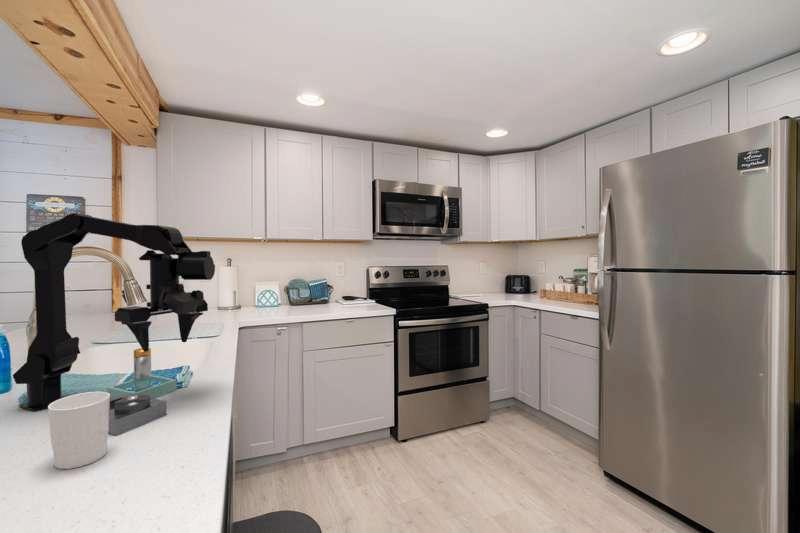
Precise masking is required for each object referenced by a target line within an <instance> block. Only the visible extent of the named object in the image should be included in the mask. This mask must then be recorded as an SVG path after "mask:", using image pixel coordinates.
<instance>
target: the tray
mask: <svg viewBox="0 0 800 533" xmlns="http://www.w3.org/2000/svg"><path fill="white" fill-rule="evenodd" d="M151 380H153V381H157V382H162V383H163V384H160V385H157V386H154V387H151V388H148V389H145V390H142V391H139V392H134V391H127V390H124V389H126V388H128V387H130V386H132V385H134V379H132V380H128V381H125V382H121V383H118V384H115V385H112V386H108V387H106V389H107V390H106V392H107V393H109V394H110V399H113V398H116V397H119V396H122V395H125V394H129V393H133V394H137V395H148V396H150V397H151V398H155V399H156V398H157V397H160V396H163V395H165V394H168V393H171V392H174V391H176V390H178V386H177V385H178V383H177V382H178V380H177V379H175V378H170V377H163V376H160V375H159V376H158V375H154V374H151Z"/></svg>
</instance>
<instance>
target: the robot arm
mask: <svg viewBox="0 0 800 533" xmlns="http://www.w3.org/2000/svg"><path fill="white" fill-rule="evenodd" d="M88 234H95V235H99V236H103V237H110V238H115V239H121V240H126V241H130V242H133V243H135V244H137V245H138V246H141V247H144V248H147V249H148V250H146V252H145V253H144V254H143V255H141V256H139V257H138V260H140V261H149V284H146V288H145V289H146V290H149V292H150V293H149V294H150V301H148V302H147V301H146V306H137V305H136V306H135V305H132V306H125V307H118V308H117V310H116V311H115V312H114V322H120V323H121V325H125V326H127V327H128V329H129V330H130V331H131V333H132V334H133V335H134V337H135V338H136V339H135V340H137V343H138V344H139V346H140V347H141V348H142V349H143V351H148V349H149V348H150V338H149V336H150V333H149V328H150V326H151V324H152V322H153V321H152V320H151V321H150V320H149V319H150V318H151V316H158V315H165V314H172V313H174V314H176V315H177V321H178V322H177V323H178V327H179V336H180V339H181V342H182V343H186V342H187V341H188V338H189V337H190V336H189V335H190V333H191V330H192V327H193V325H194V324H195V321H196V320H197V319H198V318H199V317H200V316H202V315H204V312H208V311H209V310H208V309H209V308H208V307H209V306H208V305H209V303H207V301H206V299H204V298H205V297H204V292H203V290H200V289H197V290H192V291H191V292H189V291H188V292H186V291H185V286H184V284H183V283H180V277H181V279H183V280H184V281H190V280H191V281H207V280H208V281H209V280H210V281H211V280H212V279H213V278H214V276H215V272H216V264H215V262H214V259H213V257H212V256H211V251H209V250H200V251H192V249H191V248H190V247H189V246H188V244H187V243H186V242H185V240H184V239H183V235H182V232H181V231H180V229H178V228H176V227H175V226H174V227H173V226H172V227H171V226H167V225H165V226H164V225H159V224H156V225H155V224H133V223H127V222H126V223H125V222H122V221H117V220H112V219H105V218H100V217H95V216H92V215H89V214H83V213H78V212H77V213H76V212H74V213H73V212H72V213H69V214H67V215H65V216H63V217H62V218H60V219H58V220H55V221H53V222H49V223H46V224H45V225H42V226H40V227H38V228H37V229H35V230H34V229H33V230H30V231H28V232H27V233H26V234H25V235H23V236H22V238H21V242H20V244H21V247H22V253H23V258H24V259H25V261H26V262H27V263H28V264H29V266H30V267H31V268H32V269H33V272H34V275H33V276H34V292H35V294H34V295H35V296H34V297H35V298H34V299H35V300H34V301H35V316H36V317H35V319H36V335H35V336H34V338H33V340H32V341H31V343H30V345H29V347H28V350H27V357H26V362H25V363H24V364H23V365H22V366H20V368H18V369H17V370H16V371H15V372H14V373H13V375H12V377H13V380H14V382H15V384H16V385H19V384H20V385H24V384H26V402H23V403H20V404H19V406H18V407H20V408H22V409H25V410H29V411H32V412H36V411H39V410H43V409H48V406H49V404H51V403H52V402H54V401H56V400H59V399H61V398H64V397H65V396H62V394H63V393H62V374H66V373H69V372H70V371H71V368H72V366H73V364H74V363H75V362H76V361H77V360H78V355H80V354H81V351H80V348H79V345H80V344H79V343H80V338H79V336H75V337H72V336H71V335H70V333H69V332H68V331H67V313H66V312H67V310H66V290H65V289H66V286H65V285H66V284H65V269H66V267H67V266H68V264H69V263H70V261H71V259H72V256H73V251H74V250H73V249H74V247H75V246H76V245H78V244H80V243H81V242H83V241H84V239H85V238H86V237H87V235H88ZM156 251H159V252H161V253H157V252H156ZM173 256H177V257H173Z"/></svg>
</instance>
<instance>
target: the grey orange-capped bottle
mask: <svg viewBox="0 0 800 533" xmlns="http://www.w3.org/2000/svg"><path fill="white" fill-rule="evenodd" d="M151 375H152V348H150V347H149V349H148V351H143V349H142V347H141V348H136V349H133V380H134V392H139V391H142V390H145V389H148V388H151Z"/></svg>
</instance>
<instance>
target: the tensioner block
mask: <svg viewBox="0 0 800 533" xmlns="http://www.w3.org/2000/svg"><path fill="white" fill-rule="evenodd" d="M167 413H168V412H167V400H163V399H159V398H156V397H155V398H151V397H150V396H148V395H137V394H133V393H129V394H125V395H122V396H119V397H116V398H113V399H110V410H109V430H108V435H112V436H115V437H116V436H118V435H121V434H123V433H126V432H129V431H132V430H134V429H135V428H138V427H141V426H143V425H145V424H148V423H151V422H153V421H155V420H158V419H160V418H163V417H164V416H167V415H168V414H167Z"/></svg>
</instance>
